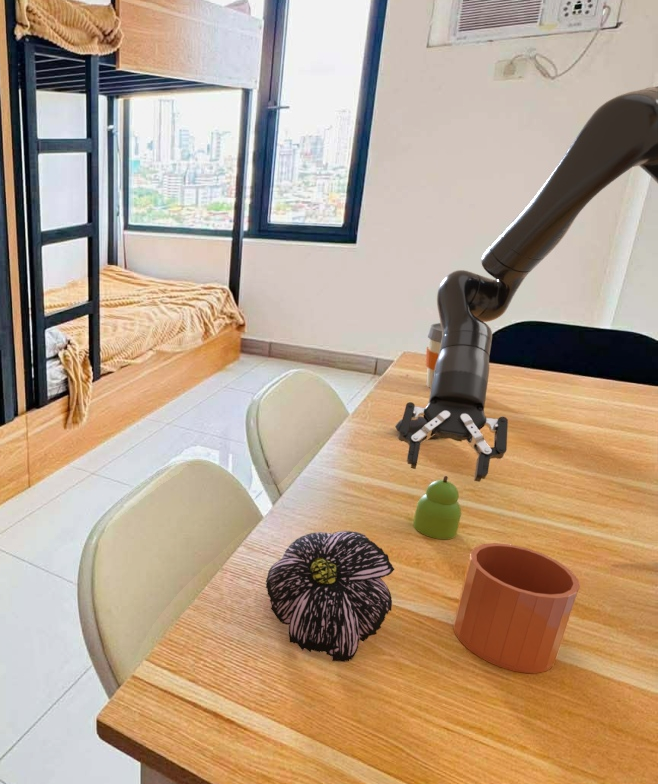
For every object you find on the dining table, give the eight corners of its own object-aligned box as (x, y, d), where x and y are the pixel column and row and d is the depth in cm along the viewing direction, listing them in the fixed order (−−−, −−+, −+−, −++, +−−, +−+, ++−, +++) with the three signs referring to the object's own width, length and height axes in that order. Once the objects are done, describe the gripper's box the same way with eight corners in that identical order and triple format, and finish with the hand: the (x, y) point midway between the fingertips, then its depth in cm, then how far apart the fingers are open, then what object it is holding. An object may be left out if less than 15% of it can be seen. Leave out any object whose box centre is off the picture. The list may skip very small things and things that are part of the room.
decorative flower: (238, 546, 74) (335, 490, 78) (235, 597, 82) (323, 543, 86) (330, 648, 64) (436, 577, 68) (317, 695, 72) (413, 629, 76)
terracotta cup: (564, 641, 73) (588, 569, 69) (543, 688, 66) (568, 610, 63) (468, 601, 80) (485, 533, 76) (440, 639, 73) (458, 567, 70)
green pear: (461, 529, 95) (474, 476, 92) (448, 544, 92) (461, 489, 89) (421, 514, 99) (432, 463, 96) (407, 528, 96) (417, 475, 93)
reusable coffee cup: (410, 386, 156) (421, 328, 151) (429, 376, 164) (440, 320, 159) (466, 399, 148) (480, 338, 143) (483, 387, 156) (496, 328, 151)
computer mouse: (448, 439, 126) (452, 421, 125) (404, 440, 126) (407, 422, 125) (431, 428, 132) (435, 410, 130) (389, 429, 131) (392, 412, 130)
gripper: (412, 362, 101) (394, 454, 95) (518, 376, 94) (506, 475, 88) (408, 384, 107) (391, 471, 101) (507, 398, 100) (495, 492, 95)
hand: (445, 473), depth 95 cm, fingers open, 8 cm apart
